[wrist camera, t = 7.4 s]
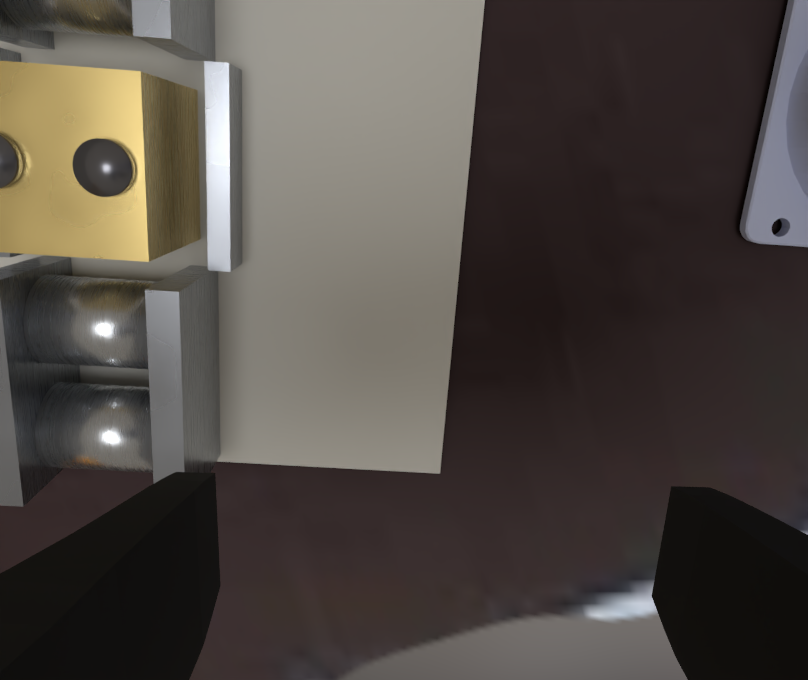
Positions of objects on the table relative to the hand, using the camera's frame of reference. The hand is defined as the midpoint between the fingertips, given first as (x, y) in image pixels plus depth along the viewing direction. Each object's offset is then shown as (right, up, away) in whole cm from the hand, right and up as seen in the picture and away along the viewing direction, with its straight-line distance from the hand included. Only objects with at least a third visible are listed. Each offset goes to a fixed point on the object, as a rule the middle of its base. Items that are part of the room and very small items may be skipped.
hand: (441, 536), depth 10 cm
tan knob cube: (-8, +8, +8) cm, 14 cm away
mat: (-6, +8, +8) cm, 13 cm away
